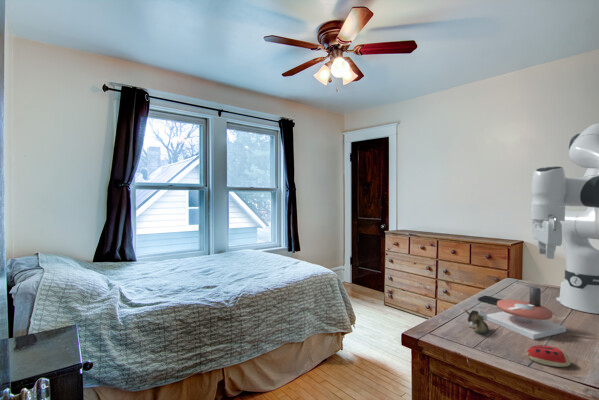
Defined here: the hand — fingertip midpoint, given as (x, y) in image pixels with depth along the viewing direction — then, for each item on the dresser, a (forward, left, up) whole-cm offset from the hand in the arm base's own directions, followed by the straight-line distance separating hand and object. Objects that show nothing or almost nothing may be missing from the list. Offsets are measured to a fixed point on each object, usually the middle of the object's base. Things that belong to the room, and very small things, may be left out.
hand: (545, 256), depth 96 cm
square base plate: (+4, -4, -24) cm, 25 cm away
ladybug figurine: (+21, +13, -25) cm, 35 cm away
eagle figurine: (+22, -8, -25) cm, 34 cm away
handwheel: (+4, -4, -20) cm, 20 cm away
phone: (-9, -21, -25) cm, 34 cm away
